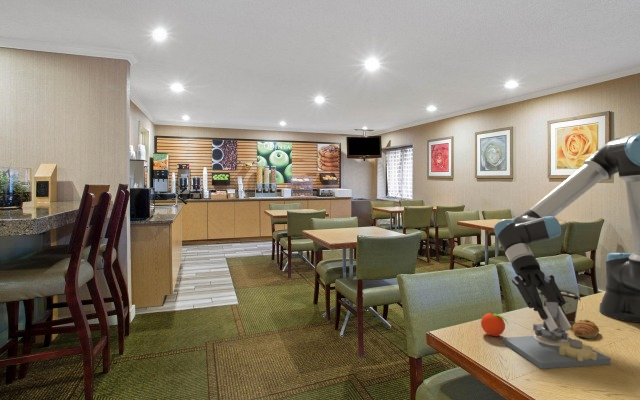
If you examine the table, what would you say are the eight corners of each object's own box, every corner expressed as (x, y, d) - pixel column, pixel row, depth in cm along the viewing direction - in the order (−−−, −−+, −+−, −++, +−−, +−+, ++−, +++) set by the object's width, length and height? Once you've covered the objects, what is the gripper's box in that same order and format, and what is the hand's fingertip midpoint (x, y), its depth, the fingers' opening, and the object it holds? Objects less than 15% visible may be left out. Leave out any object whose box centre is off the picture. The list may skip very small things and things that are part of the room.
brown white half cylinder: (578, 318, 128) (579, 290, 128) (580, 323, 123) (580, 295, 123) (538, 312, 135) (539, 285, 135) (538, 316, 130) (538, 289, 129)
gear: (553, 328, 111) (553, 296, 111) (575, 340, 103) (576, 305, 102) (526, 330, 110) (527, 298, 110) (546, 341, 102) (547, 307, 101)
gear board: (560, 337, 111) (561, 322, 111) (612, 365, 94) (613, 346, 94) (501, 341, 109) (501, 325, 109) (543, 370, 92) (543, 350, 92)
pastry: (595, 342, 109) (595, 330, 109) (568, 336, 113) (568, 324, 113) (599, 333, 115) (599, 321, 115) (574, 327, 120) (574, 316, 120)
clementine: (511, 335, 113) (511, 313, 113) (504, 342, 108) (505, 319, 108) (485, 329, 119) (485, 307, 119) (477, 335, 114) (477, 313, 113)
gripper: (539, 266, 122) (579, 333, 106) (494, 267, 120) (527, 336, 104) (551, 253, 116) (595, 322, 101) (504, 254, 115) (541, 325, 99)
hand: (560, 329), depth 102 cm, fingers closed on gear, 4 cm apart
